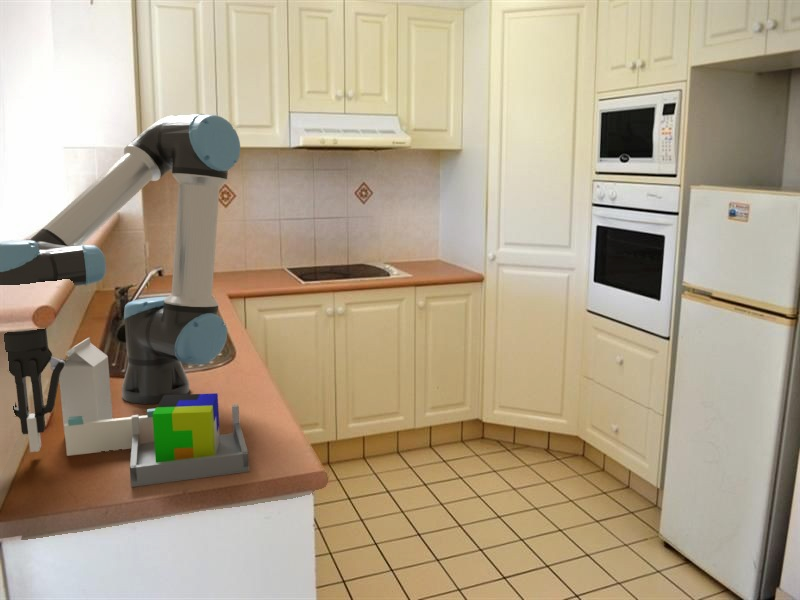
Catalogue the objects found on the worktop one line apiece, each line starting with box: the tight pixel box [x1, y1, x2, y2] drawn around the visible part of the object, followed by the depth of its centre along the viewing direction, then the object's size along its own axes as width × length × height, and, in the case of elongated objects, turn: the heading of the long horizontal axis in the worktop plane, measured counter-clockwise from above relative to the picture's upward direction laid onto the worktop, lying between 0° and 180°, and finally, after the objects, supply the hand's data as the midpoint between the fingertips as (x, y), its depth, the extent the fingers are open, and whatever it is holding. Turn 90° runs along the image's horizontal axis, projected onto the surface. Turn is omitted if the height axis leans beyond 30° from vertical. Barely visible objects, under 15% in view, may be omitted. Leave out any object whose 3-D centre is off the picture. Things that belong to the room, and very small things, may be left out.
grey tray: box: [129, 404, 250, 488], centre depth 132 cm, size 16×20×7 cm
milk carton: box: [58, 337, 114, 435], centre depth 144 cm, size 7×7×19 cm
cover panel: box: [63, 407, 157, 457], centre depth 137 cm, size 1×18×7 cm, turn 108°
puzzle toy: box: [153, 393, 221, 463], centre depth 132 cm, size 10×10×10 cm
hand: (35, 448), depth 133 cm, fingers closed
